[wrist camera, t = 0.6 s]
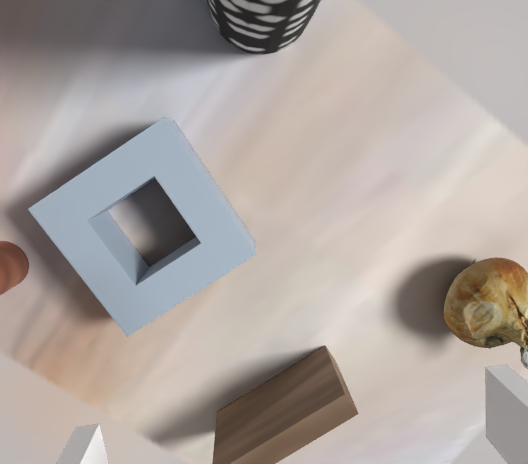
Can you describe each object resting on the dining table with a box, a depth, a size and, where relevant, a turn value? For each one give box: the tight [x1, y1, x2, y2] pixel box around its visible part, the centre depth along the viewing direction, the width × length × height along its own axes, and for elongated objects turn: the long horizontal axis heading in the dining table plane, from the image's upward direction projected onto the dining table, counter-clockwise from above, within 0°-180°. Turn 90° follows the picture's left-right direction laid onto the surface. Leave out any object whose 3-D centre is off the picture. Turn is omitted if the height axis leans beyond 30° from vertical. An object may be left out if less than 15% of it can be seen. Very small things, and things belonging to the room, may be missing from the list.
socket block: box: [28, 117, 256, 337], centre depth 35 cm, size 12×12×5 cm
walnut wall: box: [213, 346, 358, 464], centre depth 37 cm, size 2×12×8 cm, turn 123°
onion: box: [444, 258, 528, 369], centre depth 37 cm, size 8×8×8 cm
